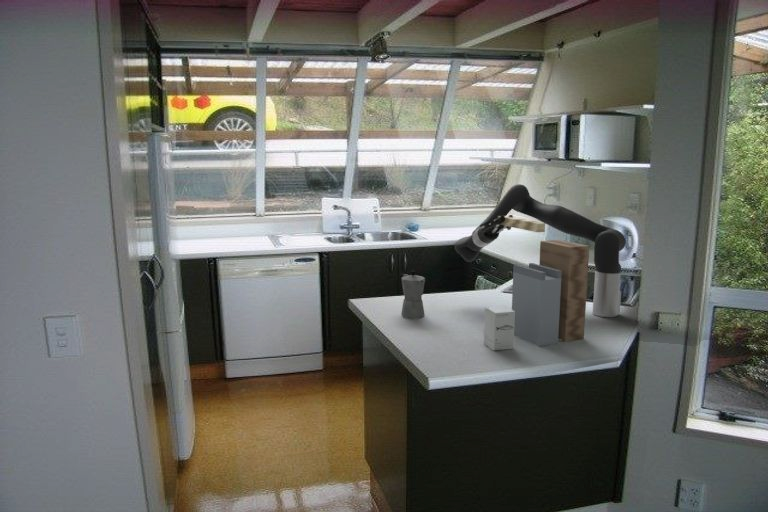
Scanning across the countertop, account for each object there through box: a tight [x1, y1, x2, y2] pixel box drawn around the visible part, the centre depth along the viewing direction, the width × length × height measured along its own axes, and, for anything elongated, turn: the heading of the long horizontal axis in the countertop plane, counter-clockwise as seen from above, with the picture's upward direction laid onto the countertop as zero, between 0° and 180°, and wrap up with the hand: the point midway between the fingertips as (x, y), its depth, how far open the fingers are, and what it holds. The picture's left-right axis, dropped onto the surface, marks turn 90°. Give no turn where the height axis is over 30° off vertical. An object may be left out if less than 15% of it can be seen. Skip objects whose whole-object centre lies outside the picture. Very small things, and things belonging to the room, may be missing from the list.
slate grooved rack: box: [511, 262, 562, 347], centre depth 187 cm, size 8×15×24 cm, turn 23°
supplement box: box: [483, 305, 515, 351], centre depth 180 cm, size 7×7×13 cm
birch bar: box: [498, 215, 546, 233], centre depth 199 cm, size 24×3×3 cm, turn 22°
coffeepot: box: [399, 269, 426, 320], centre depth 216 cm, size 15×9×18 cm, turn 33°
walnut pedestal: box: [538, 239, 590, 343], centre depth 190 cm, size 8×15×32 cm, turn 23°
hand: (508, 217), depth 205 cm, fingers closed on birch bar, 3 cm apart
